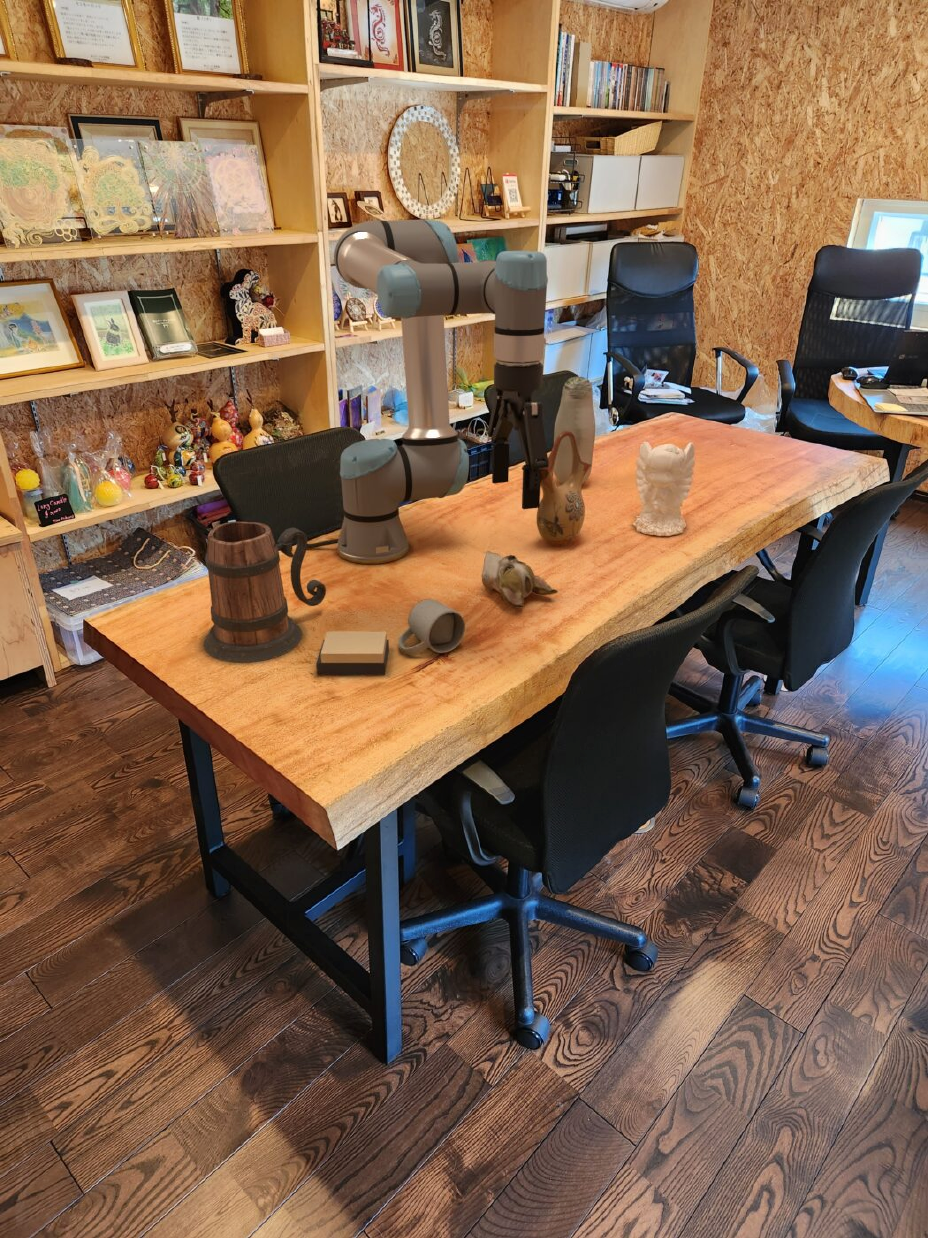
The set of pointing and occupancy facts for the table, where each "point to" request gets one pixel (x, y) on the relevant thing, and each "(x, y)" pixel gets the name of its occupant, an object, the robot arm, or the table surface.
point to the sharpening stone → (353, 653)
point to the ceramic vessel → (562, 499)
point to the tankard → (253, 592)
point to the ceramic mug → (433, 627)
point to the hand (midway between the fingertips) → (514, 494)
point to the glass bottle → (575, 426)
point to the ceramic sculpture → (512, 579)
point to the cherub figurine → (663, 487)
